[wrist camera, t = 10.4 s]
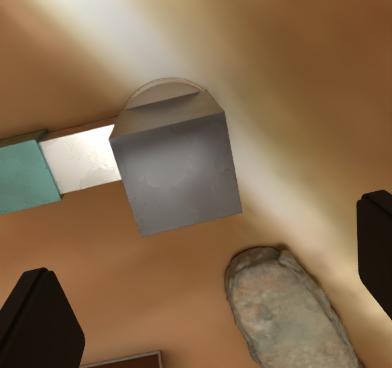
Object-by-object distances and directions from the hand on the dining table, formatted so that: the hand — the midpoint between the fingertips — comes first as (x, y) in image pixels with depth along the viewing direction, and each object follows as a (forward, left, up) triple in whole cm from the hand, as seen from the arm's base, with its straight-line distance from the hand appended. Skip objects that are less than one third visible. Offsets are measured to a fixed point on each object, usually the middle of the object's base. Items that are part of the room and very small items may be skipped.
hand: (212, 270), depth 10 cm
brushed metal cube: (0, 0, -12) cm, 12 cm away
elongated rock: (-8, +27, -16) cm, 33 cm away
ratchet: (+6, 0, -15) cm, 16 cm away
